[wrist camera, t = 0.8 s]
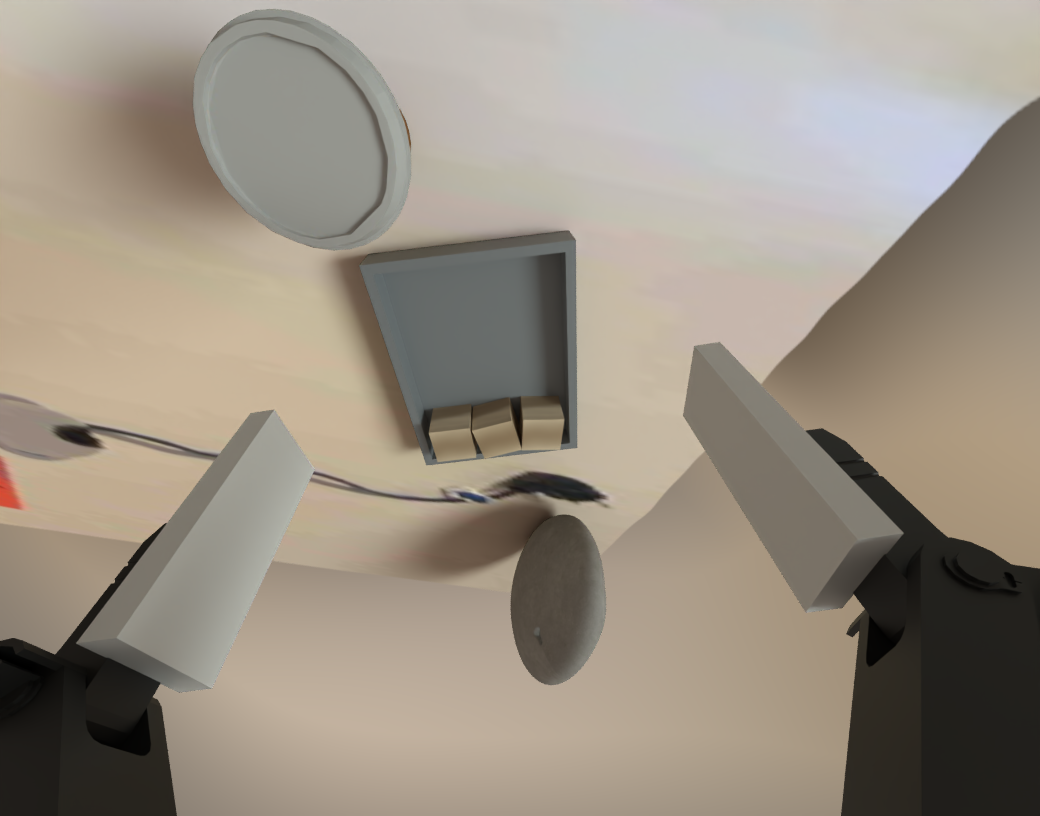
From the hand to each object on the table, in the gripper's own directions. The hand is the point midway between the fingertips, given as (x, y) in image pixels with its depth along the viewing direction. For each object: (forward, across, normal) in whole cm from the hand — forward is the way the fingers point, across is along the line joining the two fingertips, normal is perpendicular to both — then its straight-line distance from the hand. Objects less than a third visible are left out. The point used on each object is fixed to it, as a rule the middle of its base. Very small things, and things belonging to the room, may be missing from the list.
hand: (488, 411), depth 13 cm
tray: (+24, -2, -12) cm, 27 cm away
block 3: (+23, +2, -19) cm, 30 cm away
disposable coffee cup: (+24, -8, +7) cm, 26 cm away
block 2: (+23, -3, -19) cm, 30 cm away
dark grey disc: (+23, 0, -40) cm, 47 cm away
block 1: (+23, -7, -19) cm, 30 cm away
